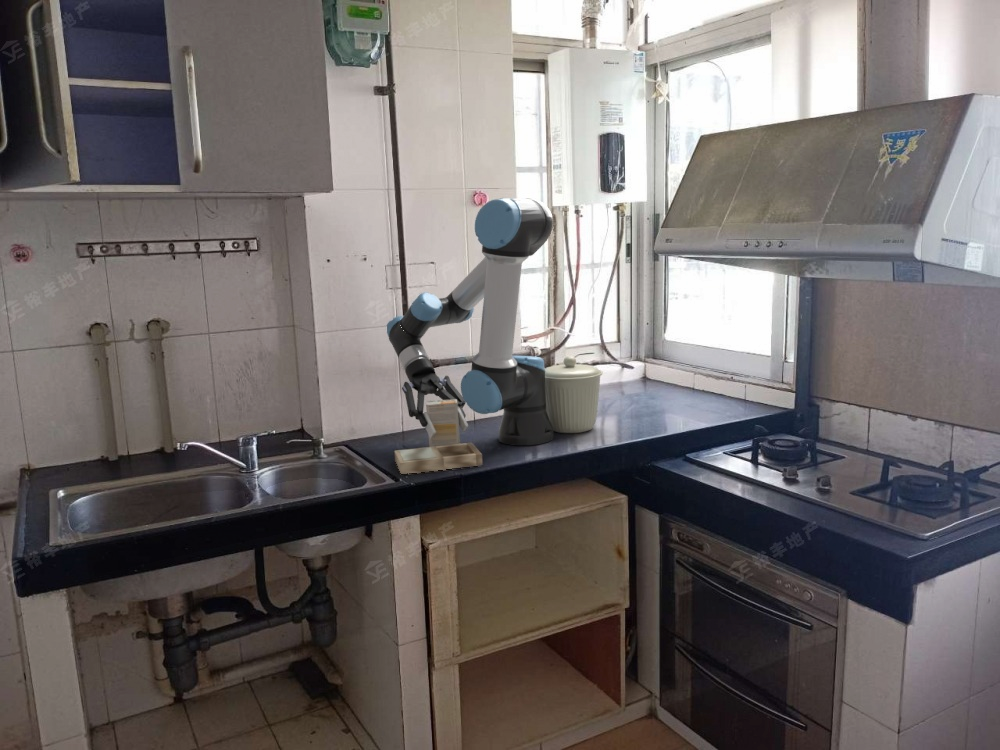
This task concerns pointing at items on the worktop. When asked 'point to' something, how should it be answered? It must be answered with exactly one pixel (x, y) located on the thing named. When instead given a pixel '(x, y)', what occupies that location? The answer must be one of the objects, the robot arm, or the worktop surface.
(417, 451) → the board
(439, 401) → the supplement box
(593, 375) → the canister
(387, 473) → the worktop surface
